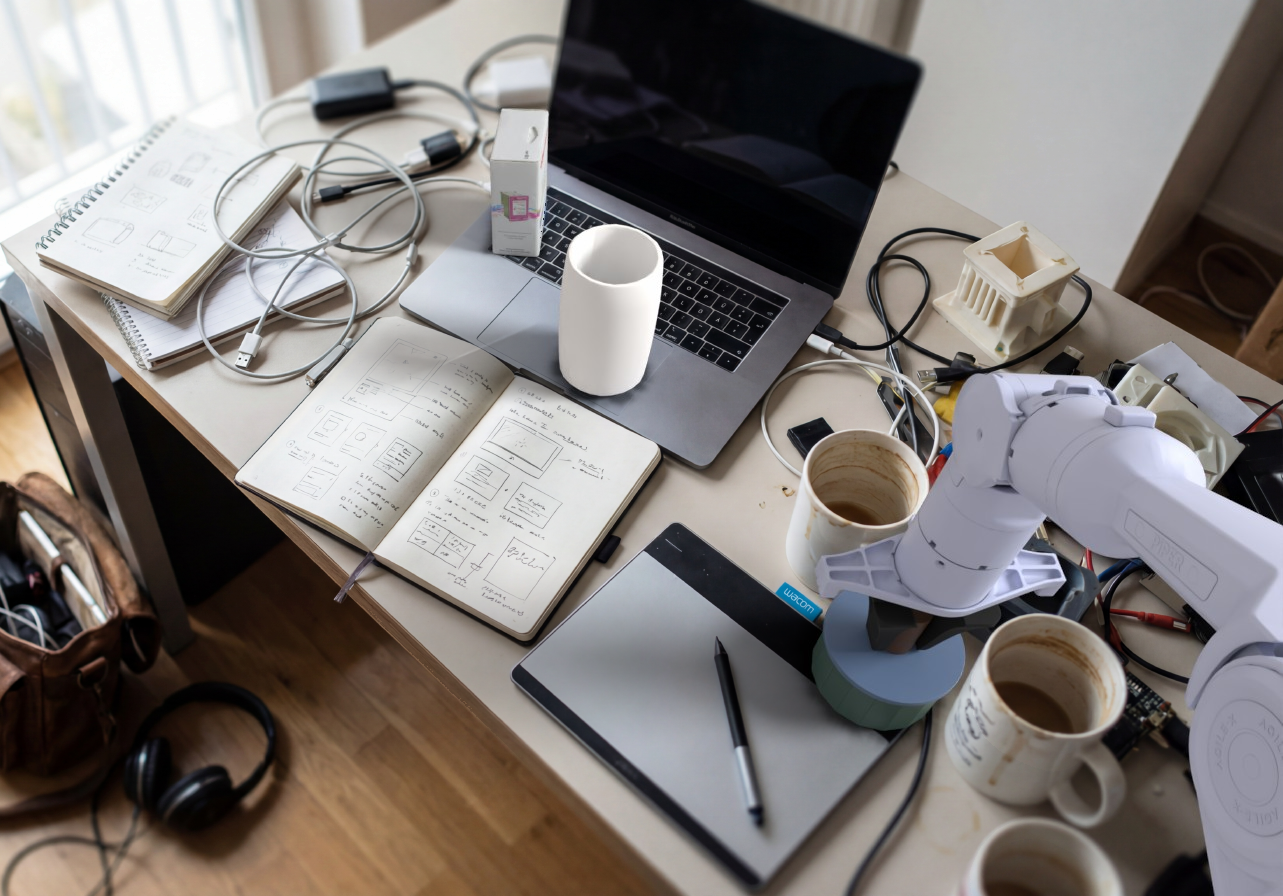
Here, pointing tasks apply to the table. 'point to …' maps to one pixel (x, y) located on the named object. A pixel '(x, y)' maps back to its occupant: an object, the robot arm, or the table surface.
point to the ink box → (519, 181)
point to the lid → (890, 656)
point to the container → (859, 697)
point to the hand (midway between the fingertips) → (896, 637)
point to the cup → (608, 308)
